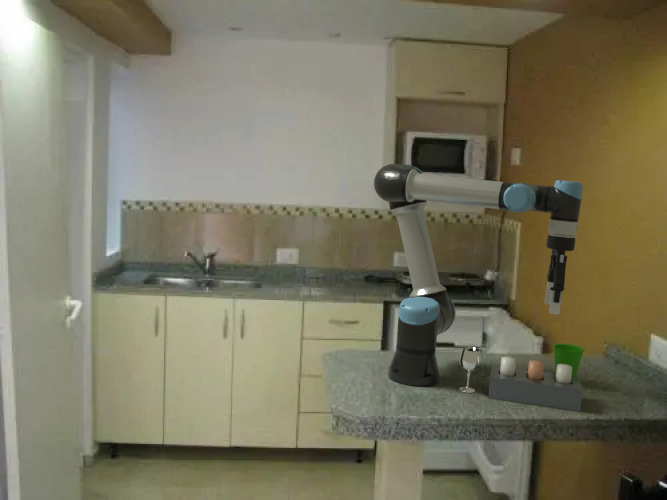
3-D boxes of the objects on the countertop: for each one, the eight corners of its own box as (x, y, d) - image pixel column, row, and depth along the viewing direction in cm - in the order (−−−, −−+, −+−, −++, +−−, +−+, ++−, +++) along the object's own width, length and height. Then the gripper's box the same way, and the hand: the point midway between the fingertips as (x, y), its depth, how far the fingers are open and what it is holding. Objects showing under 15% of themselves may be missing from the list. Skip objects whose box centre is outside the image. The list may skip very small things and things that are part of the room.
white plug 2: (554, 391, 179) (557, 367, 178) (554, 387, 183) (556, 363, 182) (570, 393, 178) (573, 369, 177) (568, 389, 182) (571, 365, 181)
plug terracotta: (526, 387, 181) (529, 363, 180) (526, 383, 184) (528, 359, 184) (541, 389, 180) (544, 365, 179) (541, 385, 183) (543, 361, 183)
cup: (582, 389, 193) (587, 353, 191) (551, 385, 195) (555, 349, 193) (577, 379, 202) (581, 345, 200) (547, 376, 203) (551, 342, 202)
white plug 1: (498, 383, 182) (501, 359, 182) (499, 379, 186) (501, 355, 185) (513, 385, 181) (516, 361, 181) (513, 381, 185) (516, 357, 184)
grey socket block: (488, 397, 180) (490, 376, 179) (489, 384, 191) (491, 364, 190) (580, 411, 174) (582, 389, 173) (575, 397, 185) (578, 376, 184)
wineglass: (465, 394, 181) (469, 352, 180) (452, 387, 186) (456, 347, 185) (481, 392, 184) (485, 351, 182) (468, 385, 189) (472, 345, 187)
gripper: (582, 241, 170) (570, 320, 173) (570, 233, 194) (560, 302, 197) (552, 238, 172) (541, 316, 175) (544, 230, 196) (534, 298, 199)
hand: (551, 308), depth 186 cm, fingers open, 13 cm apart
